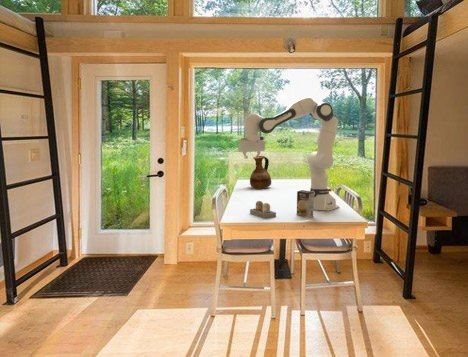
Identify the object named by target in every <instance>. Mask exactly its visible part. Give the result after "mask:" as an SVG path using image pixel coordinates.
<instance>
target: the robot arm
mask: <svg viewBox="0 0 468 357" xmlns="http://www.w3.org/2000/svg"><path fill="white" fill-rule="evenodd" d="M306 115H310V116H311V117H312V118H313V119H314V120H316V121H320V123H321V126H320V129H319V132H318V136H317V139H316V145H317V148H316V149H317V150H316V151H312V152H311V153H309V154H308V156H307V163H308V164H309V171H310V188H309V191H311V192H314V210H315V211H332V210H336V209H339V208H340V205H338V204H337V200H336V198H335V197H334V196H332V194H330V192H332V191H333V190H332V188H330V187H329V188H328V183H329V182H328V179H329V178H328V175H327V172H326V170H328V169H330V168H331V167H332V166H333V165H334V158H333V150H334V149H333V147H334V144H335V140H336V136H337V132H338V127H339V120H338V119H337V117H336V116H335V115H334V111H333V106H332V105H331V104H330V103H328V102H325V101H324V102H319V103H317V102H316V100H315V99H314V98H313V97H312V96H307V97H303V98H301V99H298V100H295V101H294V102H292V103H291V104H289V105H288V106H287V107H286V109H285V110H284V111H282V112H280V113H278V114H277V115H274V116H272V117H264V116H262V115H259V114H258V113H256V112H253V113H250V114H247V115H246V116H245V121H244V122H245V123H244V124H245V126H244V128H245V132H244V134H245V135H244V137H241V138H239V139H238V147H237V150H238V152H240V153H242V155H243V157H244V159H248V158H249V157H248V155H247V153H251V152H256V153H257V154H256V155H255V157H256V158H259V156H261V155H260V154H261V152H265V151H266V142H265V140H266V139H265V136H262V135H260V134H259V132H260V133H263V134H266V135H267V134H270V133H272V132H273V131H275V129H276V128H277V127H278V126H280V125H282V124H284V123H286V122H288V121H293V120H297V119H300V118H302V117H304V116H306ZM314 210H313V211H314Z"/></svg>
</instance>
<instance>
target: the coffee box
mask: <svg viewBox="0 0 468 357" xmlns="http://www.w3.org/2000/svg"><path fill="white" fill-rule="evenodd" d="M296 216H301V217H305V218H313V217H314V192H311V191H310V190H304V189H302V190H298V191H296Z"/></svg>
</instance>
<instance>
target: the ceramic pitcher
mask: <svg viewBox="0 0 468 357" xmlns="http://www.w3.org/2000/svg"><path fill="white" fill-rule="evenodd" d="M252 159H253V160H254V161H255V169H253V171H252V173H251V174H250V177H249V185H250V187H252V188H253V189H265V188H268V187H270V186H272V177H271V175H270V173H269V171H268V168H269V165H270V161H269V158H268V157H266V156H265V155H259V158H256V156H253V157H252ZM263 160H264V167H263Z"/></svg>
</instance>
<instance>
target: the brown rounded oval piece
mask: <svg viewBox="0 0 468 357" xmlns="http://www.w3.org/2000/svg"><path fill="white" fill-rule="evenodd" d="M263 204H264V203H263V201H261V200H257V201H256V202H255V208H256V211H263Z"/></svg>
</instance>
